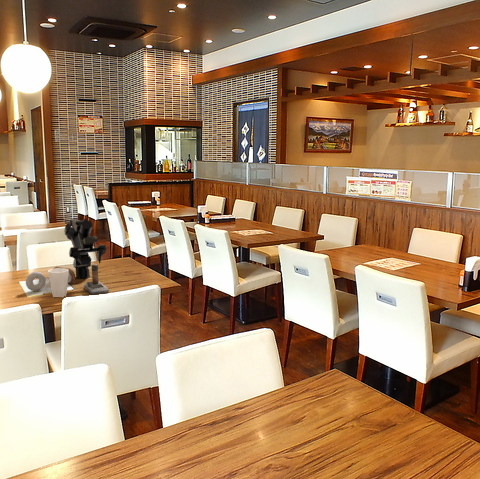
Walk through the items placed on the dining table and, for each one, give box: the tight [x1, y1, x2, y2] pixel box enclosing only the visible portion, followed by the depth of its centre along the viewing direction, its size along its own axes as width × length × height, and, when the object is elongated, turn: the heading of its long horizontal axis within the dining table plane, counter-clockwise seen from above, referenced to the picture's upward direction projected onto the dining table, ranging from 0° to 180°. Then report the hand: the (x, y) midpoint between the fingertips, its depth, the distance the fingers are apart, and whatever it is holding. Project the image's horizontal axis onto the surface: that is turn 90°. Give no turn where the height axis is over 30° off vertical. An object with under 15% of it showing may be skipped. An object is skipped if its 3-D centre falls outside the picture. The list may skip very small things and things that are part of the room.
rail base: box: [83, 281, 110, 295], centre depth 249 cm, size 14×10×3 cm
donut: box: [25, 271, 47, 292], centre depth 246 cm, size 10×3×10 cm, turn 133°
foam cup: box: [47, 267, 69, 298], centre depth 237 cm, size 10×9×13 cm
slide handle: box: [89, 263, 103, 288], centre depth 249 cm, size 5×5×12 cm
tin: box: [52, 266, 76, 285], centre depth 262 cm, size 15×3×8 cm, turn 71°
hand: (91, 263), depth 254 cm, fingers open, 9 cm apart
